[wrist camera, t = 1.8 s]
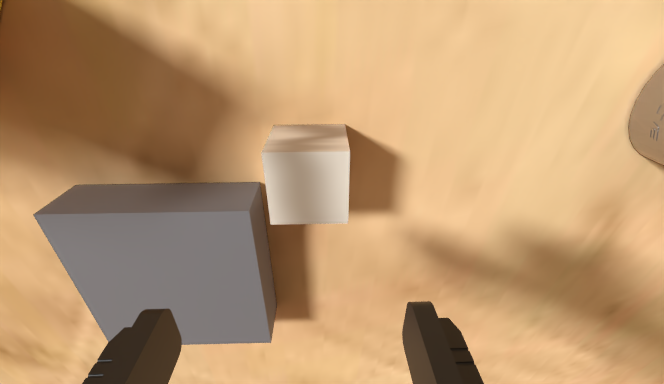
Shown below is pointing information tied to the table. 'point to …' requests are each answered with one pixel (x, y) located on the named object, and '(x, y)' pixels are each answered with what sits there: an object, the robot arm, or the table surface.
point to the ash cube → (307, 174)
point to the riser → (169, 256)
